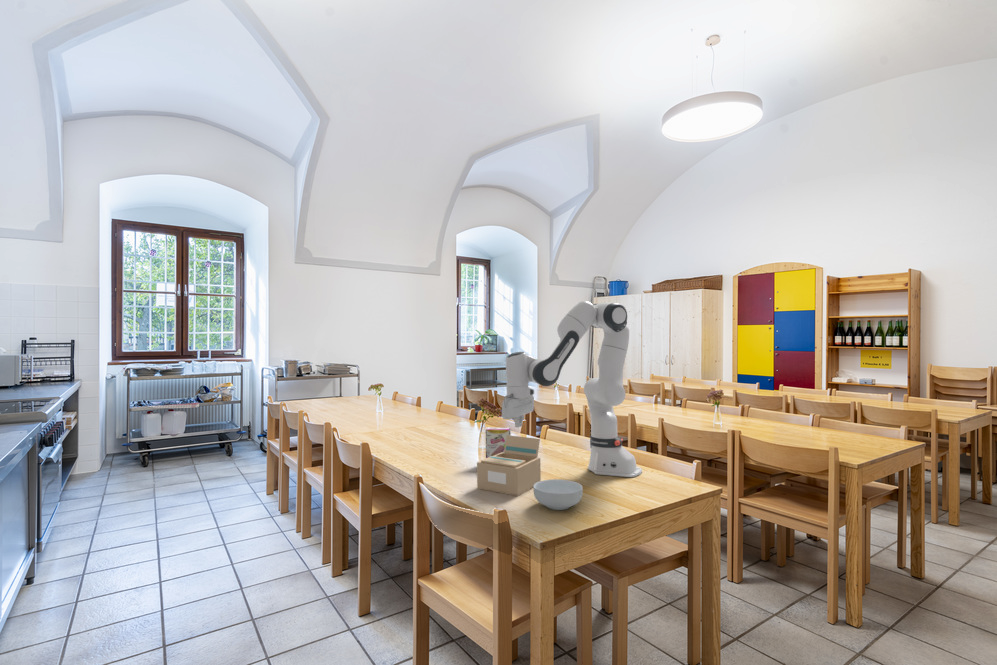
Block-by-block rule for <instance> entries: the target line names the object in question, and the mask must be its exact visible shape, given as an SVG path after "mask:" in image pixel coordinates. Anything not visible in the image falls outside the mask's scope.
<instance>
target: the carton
mask: <svg viewBox="0 0 997 665" xmlns="http://www.w3.org/2000/svg"><path fill="white" fill-rule="evenodd" d="M494 456H497V457H504V458H511V459H517V460H524V461H526V462H525V463H523V464H521V465H519V466H517V467H511V466H505V465H498V464H492V463H485V462H481V460H479V461H477V462H476V484H477V487H476V488H477V490H478V489H479V490H484V491H488V492H494V493H500V494H503V495H505V494H506V495H510V496H516V497H519V496H521V495H522V494H525V493H526V492H528V491H529V490H531V489H533V485H534V484H535V483H537V482H540V481H542V478H541V477H542V476H541V472H542V471H541V470H542V469H541V457H539V456H538V457H531V456H524V455H517V454H510V453H503V452H501V453H499V454H496V455H494Z"/></svg>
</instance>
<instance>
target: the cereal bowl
mask: <svg viewBox="0 0 997 665" xmlns="http://www.w3.org/2000/svg"><path fill="white" fill-rule="evenodd" d="M583 487H584V486H583V485H582V484H581V483H579V482H577V481H573V480H569V479H560V478H559V479H558V478H556V479H545V480H541V481H540V482H537V483H535V484H534V485H533V488H532V489H533V495H534V498H535V499H536V501H537V502H538V503H539V504H541V505H543V506H545V507H546V508H548V509H550V510H553V511H564V510H567V509H569V508H570V507H573V506H575V505H577V504H579V502H580V501H581V500H582V498H583V491H584V489H583Z"/></svg>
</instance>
